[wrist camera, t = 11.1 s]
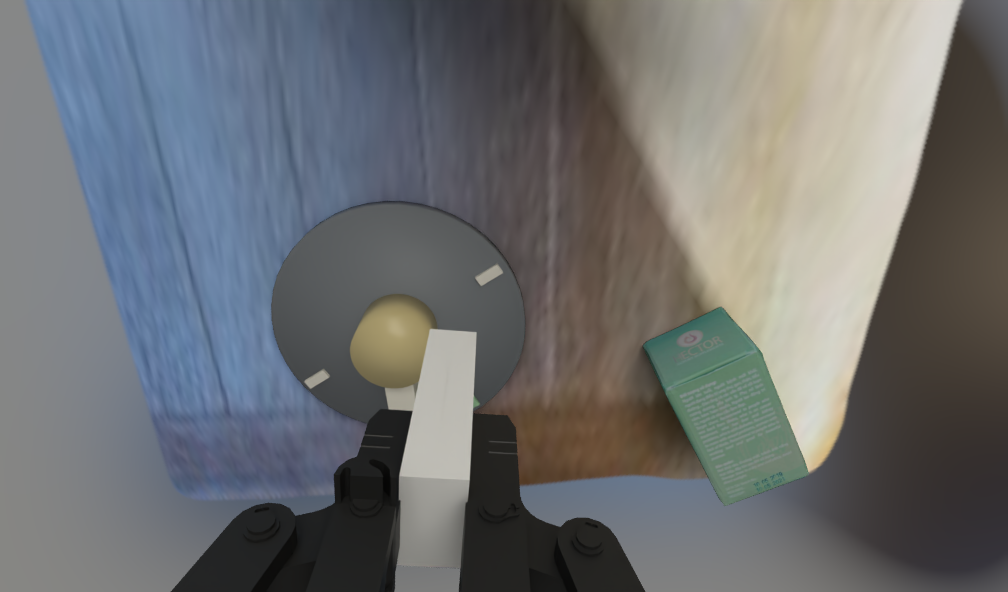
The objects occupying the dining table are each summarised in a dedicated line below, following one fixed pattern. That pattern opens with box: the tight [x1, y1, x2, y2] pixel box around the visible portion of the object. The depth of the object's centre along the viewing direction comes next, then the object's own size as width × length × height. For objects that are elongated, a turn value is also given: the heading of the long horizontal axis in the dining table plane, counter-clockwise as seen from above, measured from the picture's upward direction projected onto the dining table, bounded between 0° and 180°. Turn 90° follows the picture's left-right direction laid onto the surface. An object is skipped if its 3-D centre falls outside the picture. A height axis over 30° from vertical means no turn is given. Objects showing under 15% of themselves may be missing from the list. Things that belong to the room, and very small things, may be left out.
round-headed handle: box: [350, 294, 438, 411], centre depth 43 cm, size 13×6×4 cm, turn 3°
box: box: [643, 307, 809, 506], centre depth 45 cm, size 7×14×8 cm, turn 29°
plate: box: [271, 201, 525, 424], centre depth 44 cm, size 20×20×2 cm
